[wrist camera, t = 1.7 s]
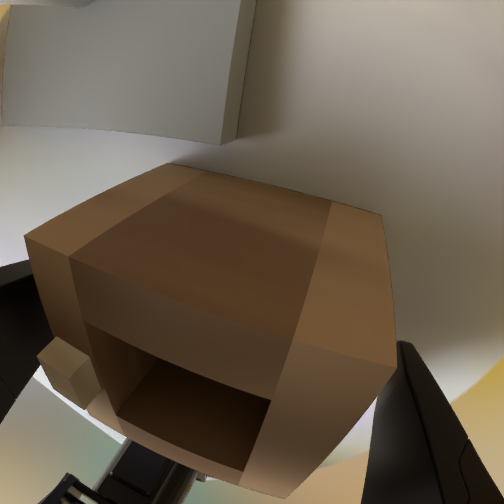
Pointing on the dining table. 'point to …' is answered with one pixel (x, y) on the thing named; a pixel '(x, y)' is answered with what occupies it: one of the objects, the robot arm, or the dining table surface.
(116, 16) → the grey square slab
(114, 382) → the open wooden cubby
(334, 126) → the dining table surface
